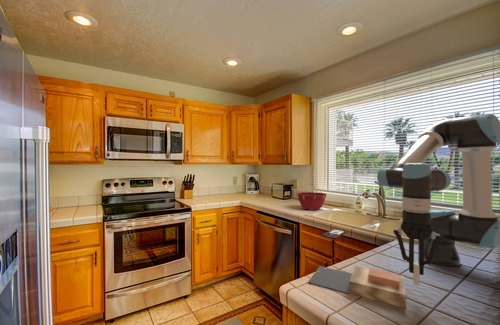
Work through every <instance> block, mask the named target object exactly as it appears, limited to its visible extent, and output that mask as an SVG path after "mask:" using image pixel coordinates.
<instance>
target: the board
mask: <svg viewBox="0 0 500 325" xmlns="http://www.w3.org/2000/svg"><path fill="white" fill-rule="evenodd" d="M369 269H370V268H366V267H361V266H356V265H355V266H354V267H353V270H352V275H351V278H350V281H349V294H353V295H356V296H359V297H362V298H363V297H364V298H367V299H370V300H374V301H378V302H381V303H385V304H389V305H393V306H396V307H400V308H404V309H406V299H407V297H406V287H405V285H406V284H405V276H403V275H399V288H398V287H394V286H389V285H385V284H381V283H377V282H373V281H368V274H369Z"/></svg>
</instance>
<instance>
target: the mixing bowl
mask: <svg viewBox="0 0 500 325" xmlns="http://www.w3.org/2000/svg"><path fill="white" fill-rule="evenodd" d="M296 194H297V197H298V201H299V203H300V205H301V207H302V208H303V209H304V210H306V209H308V210H307V211H318V209H319V210H320V209H322V207H323V205H324V204H325V200H326V197H327V193H323V192H314V191H313V192H311V191H309V192H308V191H307V192H306V191H305V192H297V193H296Z"/></svg>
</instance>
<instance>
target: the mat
mask: <svg viewBox="0 0 500 325" xmlns="http://www.w3.org/2000/svg"><path fill="white" fill-rule="evenodd" d="M325 268H326V269H325ZM318 271H319V272H318ZM315 272H316V273H315ZM315 272H314V273H313V274H312V276H311V277H310V279H309V280H307V283H308V284H310V285H315V286H318V287H321V288H325V289H329V290H332V291H336V292H340V293H342V294H347V295H349V294H350V293H349V281H350V278H351V275H352V273H353V272H352V273H351V272H348V271H347V272H346V271H343V270H338V269H333V268H331V267H326V266H321V265H319V266H318V268H316V270H315Z"/></svg>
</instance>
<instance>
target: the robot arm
mask: <svg viewBox="0 0 500 325" xmlns="http://www.w3.org/2000/svg"><path fill="white" fill-rule="evenodd" d="M499 143H500V119H499V118H498V117H497V116H496V115H495V114H493V113H484V114H483V113H482V114H473V115H469V116H468V115H467V116H460V117H454V118H447V119H443V120H440V121H438V122H436V123H433V125H431V126H429V127H427V128H426V129H425V130H424V131H423V132H421V133H420V134H419V136H418V139H417V141H416V142H415V143H413V145H412V146H411V147H410V148H409V149H408V150H406V152H405V153H404V154H402V156H401V157H400V158H398V160H397V161H396V162H395V163H394V164H393V165H392V166H391V167H390V168H388V167H386V168H381V169H379V170H378V172H377V176H376V179H377V183H378V185H380V186H381V187H384V188H390V189H391V188H394V189H402V199H401V201H402V202H401V203H402V209H403V210H402V216H401V217H402V223H401V224H400V227H397V228H393V231H392V232H393V234H394V235H395V236H396V238H397V242H398V246H399V250H400V253H401V257H402V260H404V261H407V262H408V271H409V273H410V274H411V273H412V282H413V285H414V286H418V287H419V286H420V275H421V276H423V275H424V274H425V272H424V271H425V270H424V268H425V267H424V266H426V265H431V264H435V265H439V266H447V267H457V266H460V265H461V257H460V255H459V252H458V250H457V247H456V242H458V243H463V244H465V245H470V246H475V247H478V248H484V249H488V250H497V249H498V248H499V247H500V220H499V218H498V217H499V216H498V214H497V213H496V212H494V211H493V202H492V201H493V199H492V198H493V197H492V195H493V193H492V189H493V188H492V153H491V152H492V151H494V150H495V149H496V148H497V144H499ZM454 145H455V146H456V149H457V151H460V153H461V168H462V170H461V171H462V206H463V207H462V209H461V210H459V211H458V214H456V211H455V210H452V209H432V207H431V206H432V204H431V201H432V199H431V197H432V196H431V194H432V192H439V191H444V190H446V189H447V188H448V187H450V185H451V182H452V179H451V176H450V174H449V173H448V172H446V171H445V170H442V169H438V168H433V169H432V167H431V165H430V164H429V163H425V162H426V161H427V159H428V158H429V157H430V156H431V155H432V154H433V153H434V152H435V151H437V150H440V149H441V148H442V147H444V146H445V147H446V146H454ZM403 233H404V234H405V236H407V238H408V255H407V252H406V249H405V245H404V241H403V238H402V235H403ZM415 240H417V244H418V245H417V247H418V248H417V249H418V251H417V252H418V259H417V260H418V261H415Z"/></svg>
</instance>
